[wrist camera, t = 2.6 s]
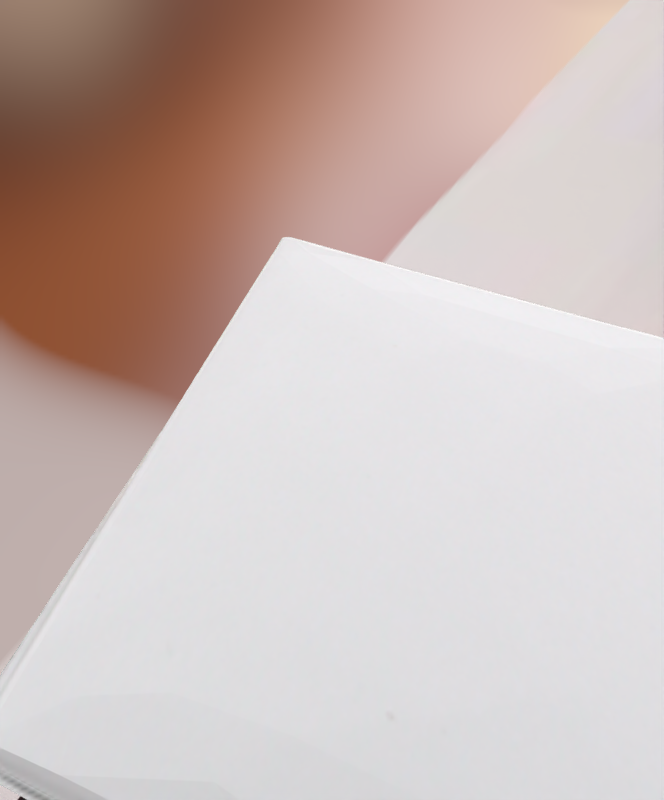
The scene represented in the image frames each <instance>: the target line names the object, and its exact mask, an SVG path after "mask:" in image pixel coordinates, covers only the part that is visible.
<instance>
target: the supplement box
mask: <svg viewBox="0 0 664 800" xmlns="http://www.w3.org/2000/svg"><path fill="white" fill-rule="evenodd" d="M0 786H3V787H5V788H7V789H9V790H11V791H12V792H14V793H16V794H18V795H20V796H21V797H23V798H25V799H27V800H664V338H662V337H658V336H655V335H651V334H647V333H644V332H640V331H636V330H632V329H628V328H624V327H620V326H616V325H612V324H609V323H605V322H601V321H597V320H594V319H590V318H586V317H583V316H579V315H575V314H571V313H568V312H564V311H560V310H557V309H553V308H549V307H546V306H542V305H538V304H534V303H531V302H527V301H523V300H520V299H516V298H512V297H509V296H505V295H501V294H497V293H494V292H490V291H486V290H482V289H479V288H475V287H471V286H468V285H464V284H460V283H456V282H453V281H449V280H445V279H442V278H438V277H434V276H430V275H427V274H423V273H419V272H416V271H412V270H408V269H404V268H401V267H397V266H393V265H390V264H386V263H382V262H378V261H375V260H371V259H368V258H364V257H360V256H357V255H353V254H350V253H346V252H343V251H339V250H335V249H331V248H328V247H324V246H320V245H317V244H314V243H310V242H307V241H303V240H299V239H296V238H292V237H284V238H282V239H281V241H280V243H279V244H278V246H277V248H276V250H275V251H274V253H273V254H272V256H271V257H270V259H269V261H268V262H267V264H266V265H265V267H264V268H263V270H262V272H261V273H260V275H259V276H258V278H257V279H256V281H255V283H254V284H253V286H252V287H251V289H250V291H249V292H248V294H247V295H246V297H245V299H244V300H243V302H242V303H241V305H240V307H239V308H238V310H237V311H236V313H235V315H234V316H233V318H232V320H231V321H230V323H229V324H228V326H227V328H226V329H225V331H224V332H223V334H222V336H221V337H220V339H219V340H218V342H217V344H216V345H215V347H214V348H213V350H212V351H211V353H210V355H209V356H208V358H207V360H206V361H205V363H204V364H203V366H202V367H201V369H200V371H199V372H198V374H197V375H196V377H195V379H194V380H193V382H192V384H191V385H190V387H189V388H188V390H187V392H186V393H185V395H184V396H183V398H182V400H181V401H180V403H179V405H178V406H177V408H176V409H175V411H174V412H173V414H172V416H171V417H170V419H169V421H168V422H167V424H166V425H165V426H164V428H163V429H162V431H161V432H160V434H159V435H158V437H157V438H156V440H155V441H154V443H153V444H152V446H151V447H150V449H149V450H148V452H147V454H146V455H145V457H144V458H143V459H142V461H141V462H140V464H139V465H138V467H137V469H136V470H135V471H134V473H133V475H132V476H131V478H130V479H129V481H128V482H127V484H126V485H125V487H124V489H123V490H122V491H121V493H120V494H119V496H118V497H117V499H116V500H115V502H114V503H113V505H112V506H111V508H110V509H109V511H108V512H107V514H106V515H105V517H104V518H103V520H102V521H101V523H100V524H99V526H98V527H97V529H96V530H95V532H94V533H93V535H92V536H91V538H90V539H89V541H88V542H87V544H86V545H85V547H84V548H83V550H82V551H81V553H80V554H79V556H78V557H77V559H76V560H75V562H74V563H73V565H72V566H71V568H70V569H69V571H68V572H67V574H66V575H65V577H64V578H63V580H62V581H61V583H60V584H59V586H58V588H57V589H56V591H55V592H54V594H53V595H52V597H51V598H50V600H49V601H48V603H47V605H46V606H45V608H44V609H43V611H42V612H41V614H40V615H39V617H38V618H37V620H36V621H35V623H34V624H33V626H32V627H31V629H30V630H29V632H28V633H27V635H26V636H25V638H24V639H23V641H22V642H21V644H20V645H19V647H18V649H17V650H16V652H15V653H14V655H13V656H12V658H11V659H10V661H9V662H8V664H7V665H6V667H5V668H4V670H3V671H2V673H1V674H0Z"/></svg>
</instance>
